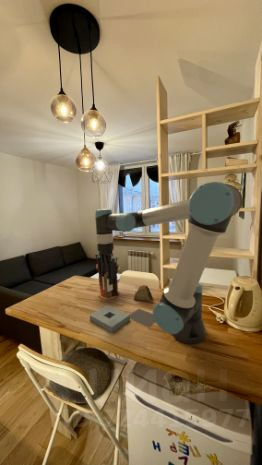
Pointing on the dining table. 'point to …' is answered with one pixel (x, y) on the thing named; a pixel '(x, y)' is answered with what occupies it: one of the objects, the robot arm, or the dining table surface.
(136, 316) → the mat
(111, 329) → the block
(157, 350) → the dining table surface
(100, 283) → the vessel
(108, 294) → the peg
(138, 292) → the rock
